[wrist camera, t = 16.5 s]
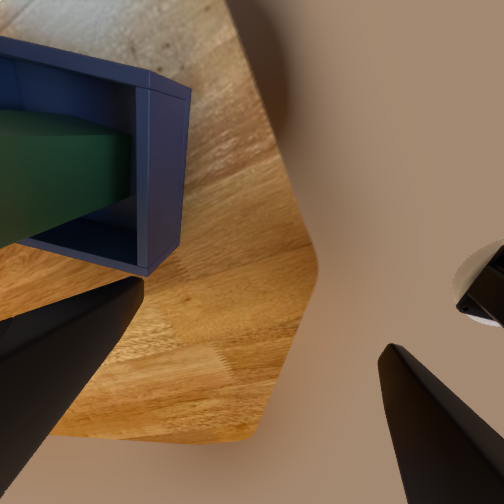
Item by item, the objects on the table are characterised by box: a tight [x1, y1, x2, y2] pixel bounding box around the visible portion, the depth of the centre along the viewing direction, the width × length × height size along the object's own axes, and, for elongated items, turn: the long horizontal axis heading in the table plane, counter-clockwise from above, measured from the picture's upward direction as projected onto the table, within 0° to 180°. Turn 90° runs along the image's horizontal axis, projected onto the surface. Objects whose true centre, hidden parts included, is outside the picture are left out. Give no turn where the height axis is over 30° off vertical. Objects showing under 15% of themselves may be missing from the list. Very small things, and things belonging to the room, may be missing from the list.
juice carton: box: [0, 109, 132, 249], centre depth 14 cm, size 5×5×13 cm
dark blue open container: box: [0, 36, 191, 277], centre depth 18 cm, size 14×13×6 cm
